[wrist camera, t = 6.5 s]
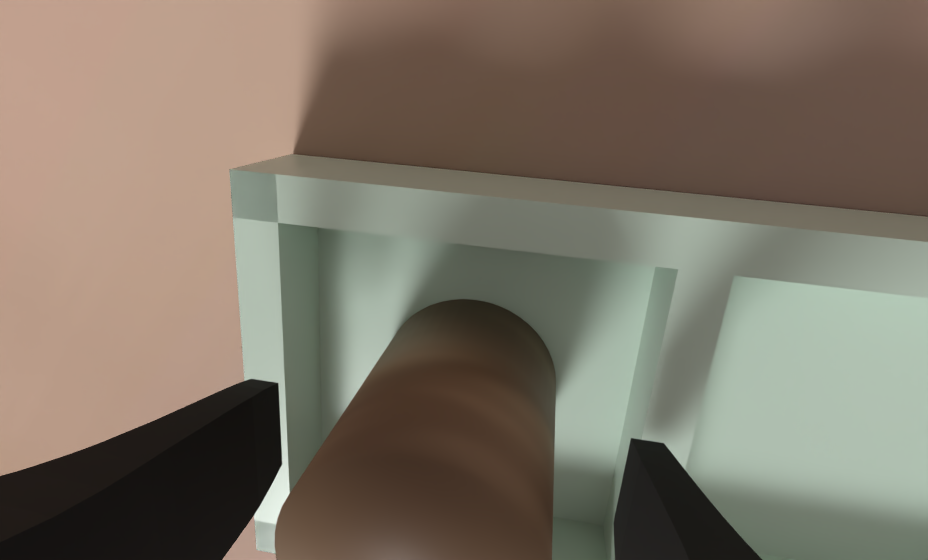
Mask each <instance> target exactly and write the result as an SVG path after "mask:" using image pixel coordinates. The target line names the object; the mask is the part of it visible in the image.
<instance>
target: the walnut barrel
mask: <svg viewBox="0 0 928 560" xmlns="http://www.w3.org/2000/svg"><path fill="white" fill-rule="evenodd" d="M555 405H556V375H555V368H554V364H553V360H552V358H551V355H550V353H549V350H548V349H547V347H546V345H545V343H544V341H543V340H542V339H541V337H540V336H539V335H538V333H537V332H536V331H535V330H534V329H533V328H532V327H531V326H530V325H529V324H528V323H527V322H525V321H524V320H523V319H522V318H520V317H519V316H517V315H516V314H514V313H512V312H511V311H509V310H507V309H505V308H503V307H500V306H498V305H495V304H492V303H489V302H484V301H479V300H471V299H456V300H448V301H443V302H439V303H436V304H433V305H430V306H428V307H426V308H424V309H422V310H420V311H418V312H417V313H415V314H414V315H412V316H411V317H410V318H409V319H408V320H407V321H406V322H405V323H404V324H403V325H402V326H401V327H400V329H399V330H398V331H397V333H396V334H395V336H394V337H393V339H392V340H391V342H390V343H389V345H388V346H387V348H386V349H385V351H384V352H383V354H382V355H381V357H380V358H379V360H378V361H377V363H376V364H375V366H374V367H373V369H372V370H371V372H370V373H369V375H368V376H367V378H366V379H365V381H364V382H363V384H362V385H361V387H360V388H359V390H358V391H357V393H356V394H355V396H354V397H353V399H352V400H351V402H350V403H349V405H348V406H347V408H346V409H345V411H344V412H343V414H342V415H341V417H340V418H339V420H338V422H337V423H336V425H335V426H334V428H333V429H332V431H331V432H330V434H329V435H328V437H327V438H326V440H325V441H324V443H323V444H322V446H321V447H320V449H319V450H318V452H317V453H316V455H315V456H314V458H313V459H312V461H311V462H310V464H309V465H308V467H307V468H306V470H305V471H304V473H303V474H302V476H301V477H300V479H299V480H298V482H297V483H296V485H295V486H294V488H293V489H292V491H291V492H290V494H289V495H288V497H287V499H286V500H285V502H284V504H283V505H282V508H281V510H280V513H279V516H278V518H277V523H276V529H275V552H276V559H277V560H552V535H553V492H554V449H555Z"/></svg>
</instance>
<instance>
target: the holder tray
mask: <svg viewBox="0 0 928 560" xmlns="http://www.w3.org/2000/svg"><path fill="white" fill-rule="evenodd" d="M229 170H230V184H231V198H232V212H233V226H234V240H235V254H236V268H237V282H238V296H239V310H240V324H241V338H242V352H243V366H244V380H245V381H246V380H249V379H256V380H263V381H269V382H276V383H278V385H279V405H280V426H281V447H282V466H281V468H280V470H279V472H278V473H277V475H276V477H275V479H274V481H273V483H272V485H271V487H270V489H269V491H268V492H267V494H266V496H265V498H264V500H263V501H262V503H261V505H260V507H259V508H258V510H257V511H256V513H255V514H254V519H255V533H256V547H257V550H259V551H264V552H269V553H274V554H276V552H275V529H276V523H277V518H278V516H279V513H280V510H281V508H282V505H283V504H284V502H285V500H286V499H287V497H288V495H289V494H290V492H291V491H292V489H293V488H294V486H295V485H296V483H297V482H298V480H299V479H300V477H301V476H302V474H303V473H304V471H305V470H306V468H307V467H308V465H309V464H310V462H311V461H312V459H313V458H314V456H315V455H316V453H317V452H318V450H319V449H320V447H321V446H322V444H323V443H324V441H325V440H326V438H327V437H328V435H329V434H330V432H331V431H332V429H333V428H334V426H335V425H336V423H337V422H338V420H339V418H340V417H341V415H342V414H343V412H344V411H345V409H346V408H347V406H348V405H349V403H350V402H351V400H352V399H353V397H354V396H355V394H356V393H357V391H358V390H359V388H360V387H361V385H362V384H363V382H364V381H365V379H366V378H367V376H368V375H369V373H370V372H371V370H372V369H373V367H374V366H375V364H376V363H377V361H378V360H379V358H380V357H381V355H382V354H383V352H384V351H385V349H386V348H387V346H388V345H389V343H390V342H391V340H392V339H393V337H394V336H395V334H396V333H397V331H398V330H399V329H400V327H401V326H402V325H403V324H404V323H405V322H406V321H407V320H408V319H409V318H410V317H411V316H412V315H414V314H415V313H417V312H418V311H420V310H422V309H424V308H426V307H428V306H430V305H433V304H436V303H439V302H443V301H448V300H456V299H471V300H479V301H484V302H489V303H492V304H495V305H498V306H500V307H503V308H505V309H507V310H509V311H511V312H512V313H514V314H516V315H517V316H519V317H520V318H522V319H523V320H524V321H525V322H527V323H528V324H529V325H530V326H531V327H532V328H533V329H534V330H535V331H536V332H537V333H538V335H539V336H540V337H541V339H542V340H543V341H544V343H545V345H546V347H547V349H548V350H549V353H550V355H551V358H552V360H553V364H554V368H555V375H556V405H555V449H554V492H553V535H552V560H615V549H614V525H613V522H614V517H615V512H616V508H617V503H618V498H619V493H620V488H621V484H622V479H623V474H624V469H625V464H626V460H627V455H628V450H629V445H630V440H631V438H634V439H641V440H647V441H654V442H660V443H664V444H665V445H666V446H667V448H668V449H669V450H670V451H671V453H672V454H673V455H674V456H675V458H676V459H677V460H678V462H679V463H680V464H681V465H682V467H683V468H684V469H685V470H686V472H687V473H688V474H689V476H690V477H691V478H692V479H693V481H694V482H695V483H696V484H697V486H698V487H699V488H700V489H701V491H702V492H703V493H704V494H705V495H706V497H707V498H708V499H709V500H710V502H711V503H712V504H713V505H714V506H715V507H716V509H717V510H718V511H719V512H720V513H721V515H722V516H723V517H724V518H725V519H726V520H727V522H728V523H729V524H730V525H731V526H732V527H733V528H734V529H735V531H736V532H737V533H738V534H739V535H740V536H741V537H742V538H743V540H744V541H745V542H746V543H747V544H748V545H749V546H750V547H751V548H752V549H753V550H754V551H755V552H756V553H757V554H758V555H759V557H760V558H761V559H762V560H928V217H925V216H915V215H905V214H895V213H885V212H875V211H865V210H854V209H844V208H834V207H824V206H814V205H804V204H794V203H783V202H773V201H763V200H753V199H743V198H733V197H723V196H712V195H702V194H692V193H682V192H672V191H662V190H652V189H641V188H631V187H621V186H611V185H601V184H591V183H581V182H570V181H560V180H550V179H540V178H530V177H520V176H510V175H500V174H489V173H479V172H469V171H459V170H449V169H439V168H429V167H418V166H408V165H398V164H388V163H378V162H368V161H358V160H347V159H337V158H327V157H317V156H307V155H297V154H290V155H286V156H282V157H278V158H274V159H270V160H266V161H262V162H258V163H254V164H249V165H245V166H241V167H237V168H233V169H229Z"/></svg>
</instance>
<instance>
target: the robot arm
mask: <svg viewBox="0 0 928 560" xmlns="http://www.w3.org/2000/svg"><path fill="white" fill-rule="evenodd" d="M281 466H282V447H281V426H280V405H279V385H278V383H276V382H269V381H263V380H256V379H249V380H246V381H243V382H241V383H238V384H236V385H233V386H231V387H228V388H226V389H224V390H222V391H219V392H217V393H215V394H213V395H210V396H208V397H206V398H204V399H201V400H199V401H197V402H195V403H193V404H190V405H188V406H186V407H184V408H181V409H179V410H177V411H175V412H173V413H170V414H168V415H166V416H164V417H161V418H159V419H157V420H155V421H152V422H150V423H147V424H145V425H143V426H140V427H138V428H135V429H133V430H130V431H128V432H126V433H123V434H121V435H118V436H116V437H113V438H111V439H109V440H106V441H104V442H101V443H99V444H96V445H94V446H91V447H88V448H86V449H83V450H80V451H77V452H75V453H72V454H69V455H66V456H63V457H60V458H57V459H54V460H51V461H48V462H45V463H42V464H39V465H36V466H33V467H30V468H27V469H23V470H20V471H17V472H13V473H10V474H6V475H2V476H0V560H222V559H223V558H224V556H225V555H226V553H227V552H228V551H229V549H230V548H231V547H232V545H233V544H234V542H235V541H236V540H237V538H238V537H239V535H240V534H241V533H242V531H243V530H244V528H245V527H246V526H247V524H248V523H249V521H250V520H251V518H252V517H253V516H254V514H255V513H256V511H257V510H258V508H259V507H260V505H261V503H262V501H263V500H264V498H265V496H266V494H267V492H268V491H269V489H270V487H271V485H272V483H273V481H274V479H275V477H276V475H277V473H278V472H279V470H280V468H281ZM613 525H614V549H615V560H762V559H761V558H760V557H759V555H758V554H757V553H756V552H755V551H754V550H753V549H752V548H751V547H750V546H749V545H748V544H747V543H746V542H745V541H744V540H743V538H742V537H741V536H740V535H739V534H738V533H737V532H736V531H735V529H734V528H733V527H732V526H731V525H730V524H729V523H728V522H727V520H726V519H725V518H724V517H723V516H722V515H721V513H720V512H719V511H718V510H717V509H716V507H715V506H714V505H713V504H712V503H711V502H710V500H709V499H708V498H707V497H706V495H705V494H704V493H703V492H702V491H701V489H700V488H699V487H698V486H697V484H696V483H695V482H694V481H693V479H692V478H691V477H690V476H689V474H688V473H687V472H686V470H685V469H684V468H683V467H682V465H681V464H680V463H679V462H678V460H677V459H676V458H675V456H674V455H673V454H672V453H671V451H670V450H669V449H668V448H667V446H666V445H665V444H664V443H660V442H654V441H647V440H641V439H634V438H631V440H630V445H629V450H628V455H627V460H626V464H625V469H624V474H623V479H622V484H621V488H620V493H619V498H618V503H617V508H616V512H615V517H614V522H613Z"/></svg>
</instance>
